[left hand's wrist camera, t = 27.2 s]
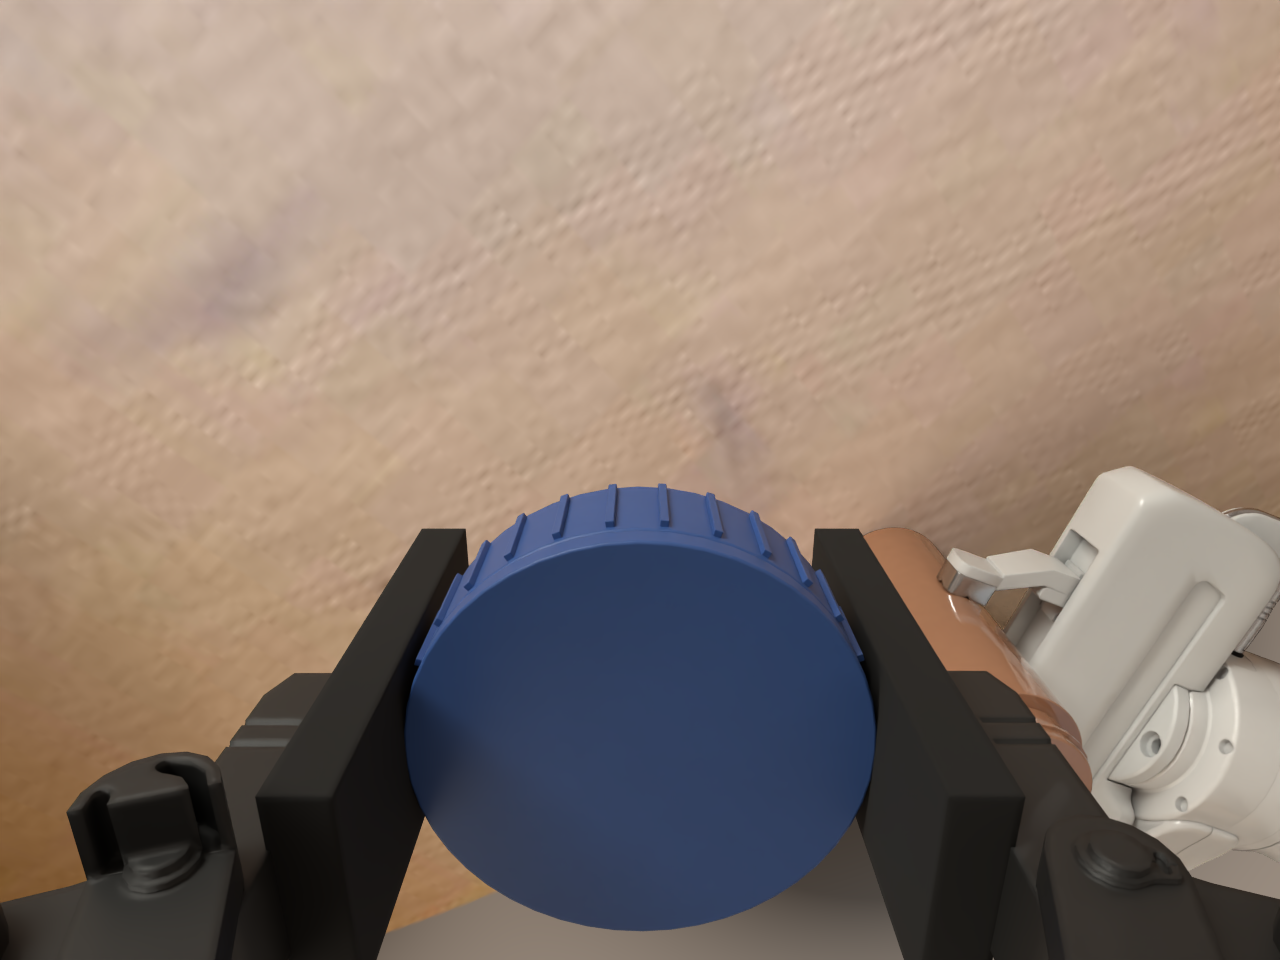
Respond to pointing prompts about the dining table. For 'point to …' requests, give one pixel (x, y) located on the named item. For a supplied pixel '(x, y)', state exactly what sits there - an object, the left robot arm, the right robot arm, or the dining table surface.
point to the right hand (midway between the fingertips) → (909, 635)
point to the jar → (971, 635)
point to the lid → (640, 712)
